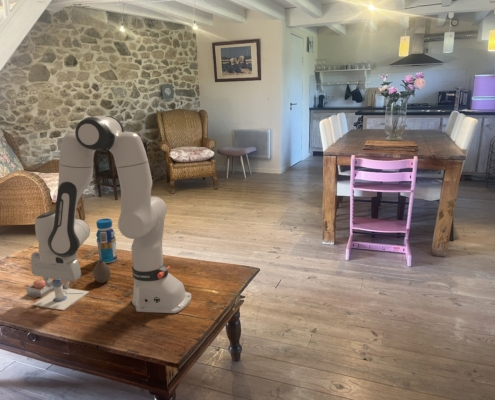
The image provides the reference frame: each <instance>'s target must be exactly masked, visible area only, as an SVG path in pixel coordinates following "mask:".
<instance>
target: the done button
mask: <svg viewBox="0 0 495 400" xmlns="http://www.w3.org/2000/svg"><path fill="white" fill-rule="evenodd" d="M33 284H34V288H36V289H41V288H43V287H45V286H46V282H45V281H44V279H43V278H39V279H36V280H34V281H33Z"/></svg>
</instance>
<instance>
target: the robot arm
mask: <svg viewBox="0 0 495 400" xmlns="http://www.w3.org/2000/svg"><path fill="white" fill-rule="evenodd" d="M74 130H75V131H74V132H69V133H67V134H64V136H63V137H62V139H61V140H62V141H61V145H60V150H59V157H58V158H59V159H58V160H59V161H58V185H57V194H56V202H55V211H54V210H53V211H52V210H51V211H47V212H44V213H42V214H39V215H38V216H37V217H36V218H35V221H34V229H35V230H34V231H35V238H36V240H37V242H38V251H33V253H31V255H30V256H31V260H30V269H31V270H30V271H31V274H32V275H33V276H35V277H41V278H42V279H44V281H45V282H46V283H47V287H52V286H53V282H52V279H53V280H54V279H61V280H62V281H63V282H64V283H63V284H62V287H63V289H64V290H67V289H69V288H70V283H71V282H76V281H78V280H79V279H80V278H81V277H82V271H81V265H80V263H79V260H78V256H79V254H78V252H77V251H79V248H80V247H81V246H82V245H83V244H84V242H85V241H86V240H87V239H88V238H89V237H90V234H91V228H90V226H89V224H88V223H87V222H86V221H85V220H83V219H81V218H76V213H77V207H78V206H77V205H78V203H79V200H80V199H81V196H82V195H83V193H84V192H85V191H86V189H88V188H89V186H90V184H91V181H92V178H93V172H94V157H95V152H96V151H100V152H104V153H106V152H110V153H111V154H112V156H113V159H114V164H115V167H116V172H117V177H118V181H119V186H120V214H119V217H118V219H117V227H118V230H119V232H120V234H121V235H122V236H124V237H125V238H128V239H133V241H132V243H131V248H130V251H131V258H132V259H131V260H132V267H131V271H132V277H133V294H132V300H131V303H132V305H133V306H134V308H135V311H136V312H138V313H139V312H140V313H160V314H176V313H178V312H181V311H182V310H184V309H185V308H186V307H187V306H188V305H189V304H190V302H191V301H192V293H190V292H188V291H186V289H185V285H184V283H183V282H182V281H180V280H179V279H178V278H176V277H175V276H174V275H172V274H171V273H169V270H170V268H171V266H170V265H168V266H166V264H165V262H164V256H163V255H164V254H163V238H164V230H165V229H164V228H165V219H166V215H167V211H168V209H167V207H168V206H167V204H166V202H165V201H164V200H163V199H162V198H161V197H159V196H153V195H151V194H152V188H153V179H152V178H153V177H152V172H151V169H150V164H149V159H148V156H147V152H146V148H145V146H144V143H143V141H142V138H141V136H140V135H139V134H137V133H136V132H132V131H125V128H124V125H123V123H122V122H121V121H120V120H119V119H118V118H116V117H113V116H110V115H94V116H90V117H89V116H88V117H86V118H84V119H82V120H81V121H79V122H78V124H77V125H76V127H75V129H74Z"/></svg>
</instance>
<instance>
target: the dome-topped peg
mask: <svg viewBox="0 0 495 400" xmlns="http://www.w3.org/2000/svg"><path fill="white" fill-rule="evenodd" d="M51 281H52V282H53V286H54V290H53V291H54V292H55V298H56V301H61V300H63V299H64V292H63V287H62V286H63V280H61V279H54V278H53V280H52V279H51Z"/></svg>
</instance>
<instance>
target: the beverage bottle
mask: <svg viewBox="0 0 495 400" xmlns="http://www.w3.org/2000/svg"><path fill="white" fill-rule="evenodd" d="M112 227H113V221H112V219H111V218H100V219H97V221H96V228H97V231H96V234H95V236H96V243H97V245H96V246H97V251H98V257H99V258H98V259H99V260H98V261H104V263H105V264H110V263H114V262H115V261H117V260H118V251H117V242H116V241H117V239H116V236H115V235H116V232H115V230H114V229H113V228H112Z"/></svg>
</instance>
